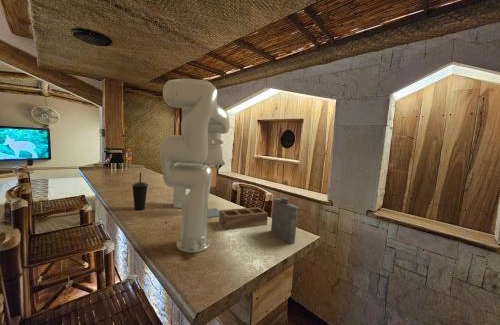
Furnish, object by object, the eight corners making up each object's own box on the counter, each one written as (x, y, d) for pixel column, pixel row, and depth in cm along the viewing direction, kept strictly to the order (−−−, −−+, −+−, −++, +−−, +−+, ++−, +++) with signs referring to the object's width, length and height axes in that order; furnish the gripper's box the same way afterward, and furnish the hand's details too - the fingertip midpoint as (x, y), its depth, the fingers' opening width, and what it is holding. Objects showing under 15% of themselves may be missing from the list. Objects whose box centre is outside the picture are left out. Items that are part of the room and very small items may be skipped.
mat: (223, 216, 118) (223, 215, 118) (201, 218, 113) (201, 217, 113) (216, 209, 129) (216, 208, 129) (195, 210, 123) (195, 209, 123)
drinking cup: (129, 211, 115) (130, 173, 112) (133, 207, 122) (134, 171, 120) (145, 211, 117) (146, 174, 114) (148, 206, 124) (149, 171, 122)
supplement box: (189, 205, 133) (190, 184, 131) (185, 208, 125) (186, 187, 124) (178, 203, 133) (178, 183, 132) (172, 207, 126) (173, 185, 125)
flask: (289, 244, 92) (293, 202, 90) (268, 231, 103) (271, 193, 101) (296, 243, 94) (300, 201, 92) (274, 230, 105) (277, 193, 103)
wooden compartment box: (266, 224, 111) (267, 213, 111) (226, 230, 101) (227, 217, 100) (257, 217, 120) (258, 207, 119) (218, 222, 110) (219, 210, 109)
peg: (215, 186, 119) (216, 168, 117) (208, 187, 117) (209, 168, 115) (213, 185, 122) (214, 167, 121) (206, 185, 120) (207, 167, 119)
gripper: (225, 143, 124) (223, 175, 126) (195, 141, 116) (194, 175, 118) (230, 144, 117) (228, 177, 119) (199, 142, 110) (197, 178, 112)
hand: (211, 176), depth 119 cm, fingers closed on peg, 4 cm apart
